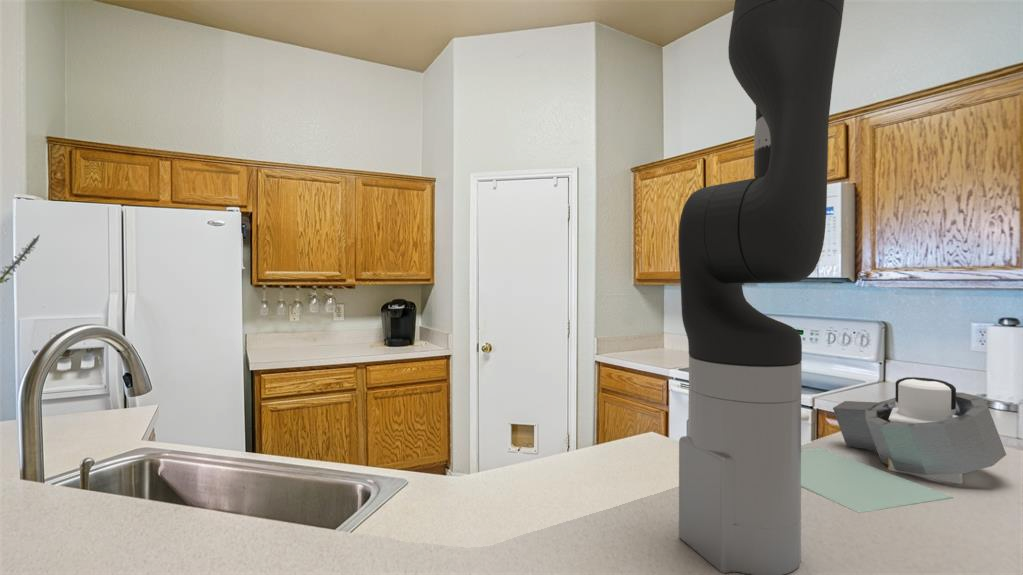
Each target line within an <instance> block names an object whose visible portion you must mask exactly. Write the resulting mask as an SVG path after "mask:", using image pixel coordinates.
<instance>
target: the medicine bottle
mask: <svg viewBox="0 0 1023 575" xmlns="http://www.w3.org/2000/svg"><path fill="white" fill-rule="evenodd" d="M956 392H957V388H956V387H955V385H953V384H951V383H949V382H947V381H944V380H940V379H936V378H929V377H915V376H910V377H908V376H906V377H903V378H899V379H897V380H896V381H895V397H894V398H895V406H896V407H897V408H893V409H892V411H891V414H890V416H889V419H888V422H896V423H908V424H915V423H926V422H938V421H942V420H946V419H950V418H954V417H958V416H956V415H955V414H956ZM887 466H888V467H887V468H888V470H889V471H891V472H895V473H900V474H906V475H910V476H916V477H921V478H926V479H931V480H936V481H940V482H948V483H952V484H956V485H962V484H963V474H940V475H924V474H917V473H911V472H905V471H899V470H896V469H894V466H893V464H892V462H891V460H890V459H889V458H888V465H887Z"/></svg>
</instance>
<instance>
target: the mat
mask: <svg viewBox="0 0 1023 575" xmlns="http://www.w3.org/2000/svg"><path fill="white" fill-rule="evenodd" d="M801 488H802V489H805V490H807V491H809V492H812V493H814V494H816V495H818V496H820V497H822V498H825V499H826V500H829V501H831V502H833V503H836V504H838V505H839V506H840V505H841V506H842V507H844V508H847V509H848V510H851V511H853V512H855V513H858V514H861V513H866V512H867V513H869V512H873V511H880V510H885V509H892V508H894V509H895V508H899V507H906V506H911V505H918V504H925V503H931V502H932V503H933V502H936V501H937V502H938V501H943V500H949V499H954V496H952V495H950V494H947V493H944V492H942V491H939V490H935V489H933V488H932V487H931V488H930V487H928V486H925V485H922V484H920V483H918V482H914V481H912V480H908V479H906V478H903V477H900V476H898V475H895V474H893V473H889V472H888V471H884V470H881V469H878V468H876V467H874V466H872V465H868V464H867V463H866V464H865V463H862V462H860V461H858V460H854V459H851V458H849V457H846V456H843V455H840V454H837V453H835V452H834V451H830V450H828V449H824V448H822V447H816V448H809V449H808V448H807V449H801Z"/></svg>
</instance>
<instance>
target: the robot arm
mask: <svg viewBox="0 0 1023 575" xmlns="http://www.w3.org/2000/svg"><path fill="white" fill-rule="evenodd" d="M844 5H845V0H734V6H733V12H732V20H731V26H730V33H729V39H728V49H727V50H728V60H729V66H730V67H731V70H732V73H733V75H734V77H735V79H736V80H737V82H738V84H739V85H740V86H741V88H742V89H743V90H744V92H745V93H746V94H747V96H748V98H749V99H750V100H751V101H752V102H753V103H754V105H755V128H754V135H753V176H754V178H749V179H743V180H736V181H732V182H727V183H721V184H714V185H710V186H705V187H702V188H699V189H697V190H695V191H694V192H692V194H690V195H689V197H688V198H687V199H686V202H685V203H684V205H683V208H682V211H681V214H680V218H679V225H678V240H677V241H678V261H679V262H678V264H679V279H680V297H681V298H680V303H681V317H682V323H683V324H682V325H683V328H684V330H685V331H684V332H685V333H686V338H687V341H688V342H687V343H688V344H687V346H688V414H687V415H688V416H687V417H688V422H687V423H688V425H687V426H688V427H687V428H688V429H687V430H688V431H687V433H688V434H687V435H685V436H684V435H683V436H680V438H679V440H678V537H679V538H680V539H681V540H682V541H683V542H685V543H686V544H687V545H688V546H689V547H690V548H692V549H693V550H694V551H695V552H697V554H699V555H700V556H701V557H703V559H705V560H706V561H707V562H709V564H711V565H712V566H713V567H715V568H716V569H717V570H718V571H719V572H720V573H724V574H726V573H731V572H732V573H733V572H734V573H742V574H748V575H787V574H789V573H792V572H795V570H797V568H799V567H800V565H801V561H802V559H801V558H802V555H801V554H802V487H801V450H802V369H803V368H802V367H803V366H802V361H803V360H802V359H803V358H802V357H803V356H802V355H803V349H802V348H803V345H802V344H803V343H802V337H801V334H800V332H799V331H798V330H797V328H795V327H793V326H791V325H789V324H787V323H785V322H781V321H779V320H776V319H775V318H772V317H770V316H768V315H765V314H764V313H762V312H761V311H759V310H758V309H756V308H755V307H754V306H752V305H751V304H750V303H749V302H748V301H747V299H746V297H745V295H744V291H743V284H772V283H773V284H781V283H782V284H785V283H787V284H788V283H795V282H796V283H797V282H801V281H803V280H806V279H807V278H808V277H809V276H811V274H813V272H814V271H815V269H816V268H817V266H818V263H819V261H820V260H821V259H820V258H821V254H822V251H823V248H824V242H825V233H826V224H827V222H826V221H827V205H828V204H827V202H828V198H827V197H828V167H829V166H828V160H829V159H828V158H829V156H828V155H829V154H828V153H829V152H828V151H829V124H830V122H829V121H830V111H831V101H832V93H833V92H832V91H833V84H834V83H833V82H834V81H833V80H834V74H835V67H836V61H837V55H838V54H837V53H838V48H839V43H840V42H839V41H840V35H841V29H842V22H843V15H844V7H845V6H844Z"/></svg>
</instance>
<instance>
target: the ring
mask: <svg viewBox="0 0 1023 575" xmlns="http://www.w3.org/2000/svg"><path fill="white" fill-rule="evenodd" d="M893 408H897V407H896V406H895V397H893V398H890V399H889V398H888V399H886V400H883V401H879V402H876V401H875V402H873V401H858V400H857V401H855V400H854V401H852V400H844V401H842V402H840V403H839V404H837V405H836V406H833V407H832V410H833V412H834V415H835V418H836V421H837V423H838V426H839V430H840V432H841V434H842V437H843V440H844V443H845V446H846V447H849V448H856V449H857V448H858V449H864V450H866V449H867V450H872V451H877V453H878V458H879V459H880V463H883V464H885V465H887V466H888V458H889V459H890V460H891V462H892V464H893V466H894V469H896V470H899V471H905V472H911V473H917V474H924V475H940V474H962V475H963V474H967V473H971V472H974V471H979V470H982V469H988V468H991V467H994V466H995V465H996V464H997V463H998V462H1000V461H1001V460H1002V459H1004V458H1005V457H1006V456H1007V453H1006V450H1005V447H1004V445H1003V442H1002V439H1001V437H1000V434H999V432H998V429H997V427H996V424H995V421H994V418H993V416H992V413H991V410H990V408H989V406H988V404H987V402H986V401H985V399H984V397H981V396H976V395H973V394H969V393H967V392H966V393H965V392H957V391H956V414H955V415H956V416H958V417H954V418H950V419H946V420H942V421H938V422H926V423H915V424H908V423H896V422H888V419H889V416H890V414H891V411H892V409H893Z"/></svg>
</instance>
